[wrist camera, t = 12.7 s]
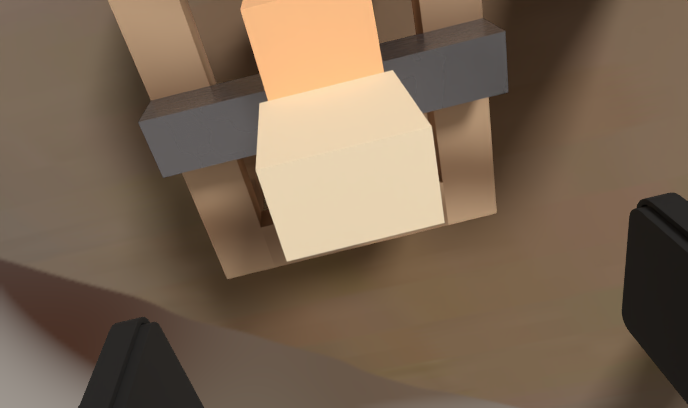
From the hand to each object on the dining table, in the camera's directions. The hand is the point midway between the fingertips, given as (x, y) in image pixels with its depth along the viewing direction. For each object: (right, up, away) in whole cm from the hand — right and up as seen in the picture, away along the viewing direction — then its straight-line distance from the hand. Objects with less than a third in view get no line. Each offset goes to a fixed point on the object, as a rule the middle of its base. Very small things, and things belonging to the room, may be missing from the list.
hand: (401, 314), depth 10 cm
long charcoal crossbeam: (-2, +7, +12) cm, 14 cm away
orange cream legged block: (-3, +11, +18) cm, 21 cm away
